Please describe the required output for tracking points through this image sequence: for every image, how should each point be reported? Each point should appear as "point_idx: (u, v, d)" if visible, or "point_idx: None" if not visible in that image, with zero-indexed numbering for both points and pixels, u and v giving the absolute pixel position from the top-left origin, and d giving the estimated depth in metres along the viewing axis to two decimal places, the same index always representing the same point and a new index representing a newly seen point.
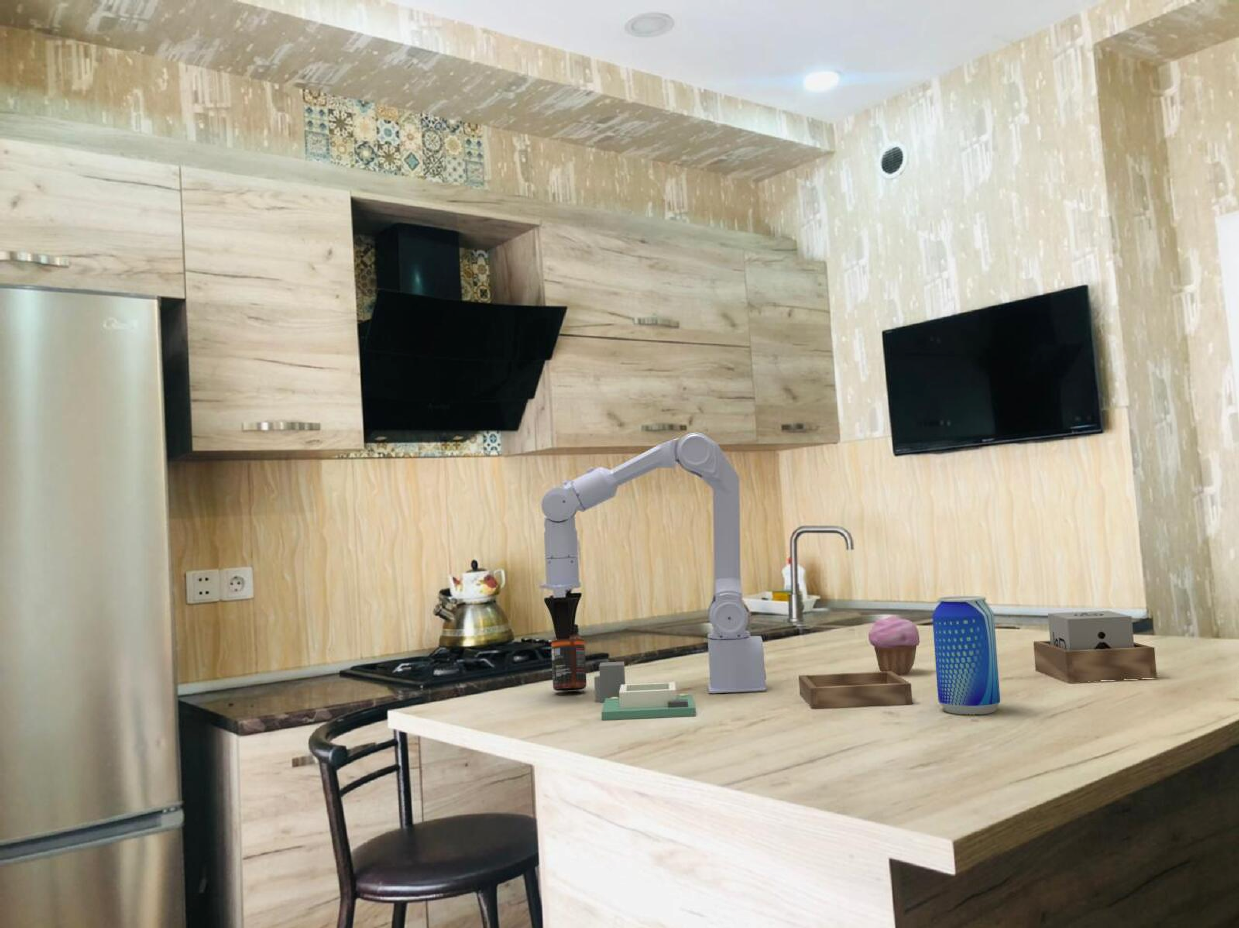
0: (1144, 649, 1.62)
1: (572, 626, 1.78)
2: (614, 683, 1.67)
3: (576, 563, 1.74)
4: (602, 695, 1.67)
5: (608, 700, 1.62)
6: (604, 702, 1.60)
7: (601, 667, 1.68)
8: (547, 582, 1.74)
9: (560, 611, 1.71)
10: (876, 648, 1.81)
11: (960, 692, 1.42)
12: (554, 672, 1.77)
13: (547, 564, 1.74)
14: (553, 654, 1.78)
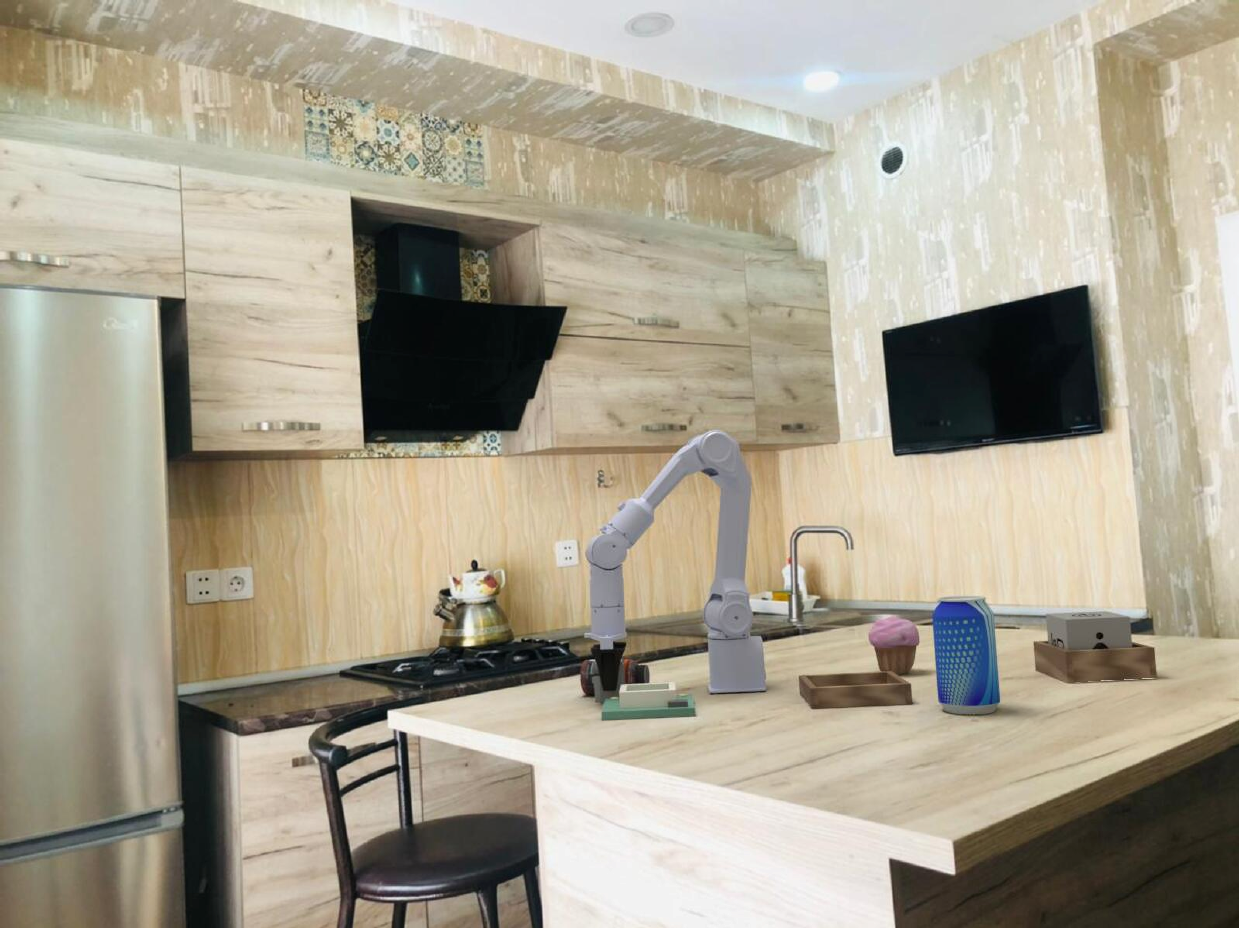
0: (1144, 649, 1.62)
1: None
2: None
3: (623, 612, 1.69)
4: (602, 695, 1.67)
5: (608, 700, 1.62)
6: (604, 702, 1.60)
7: None
8: (592, 631, 1.68)
9: (607, 662, 1.67)
10: (876, 648, 1.81)
11: (960, 692, 1.42)
12: (596, 673, 1.73)
13: (593, 613, 1.68)
14: None
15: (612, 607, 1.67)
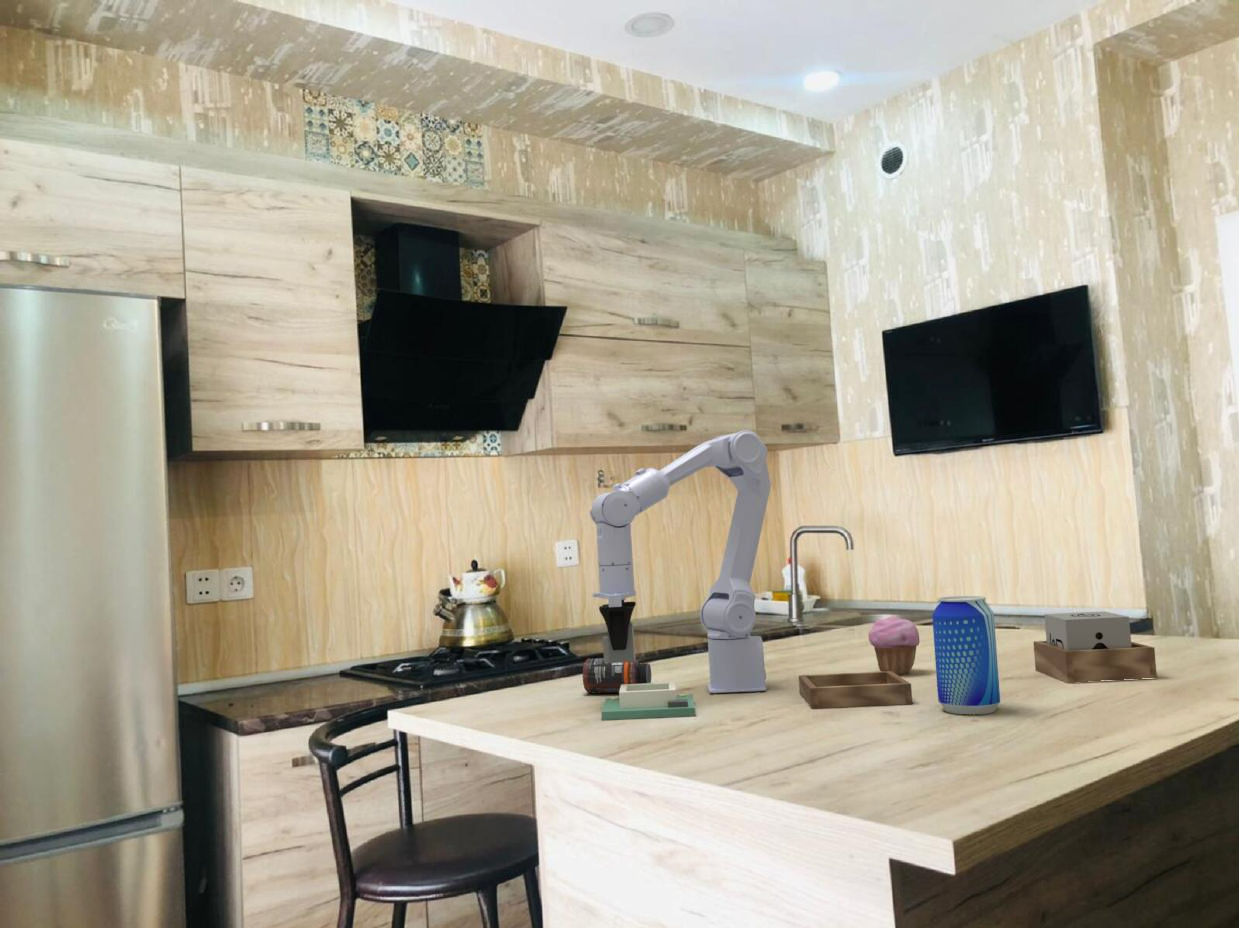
0: (1144, 649, 1.62)
1: None
2: None
3: (631, 570, 1.66)
4: (611, 655, 1.65)
5: (608, 700, 1.62)
6: (604, 702, 1.60)
7: None
8: (601, 590, 1.66)
9: (616, 620, 1.64)
10: (876, 648, 1.81)
11: (960, 692, 1.42)
12: (599, 664, 1.75)
13: (601, 572, 1.66)
14: (616, 663, 1.75)
15: (620, 565, 1.65)
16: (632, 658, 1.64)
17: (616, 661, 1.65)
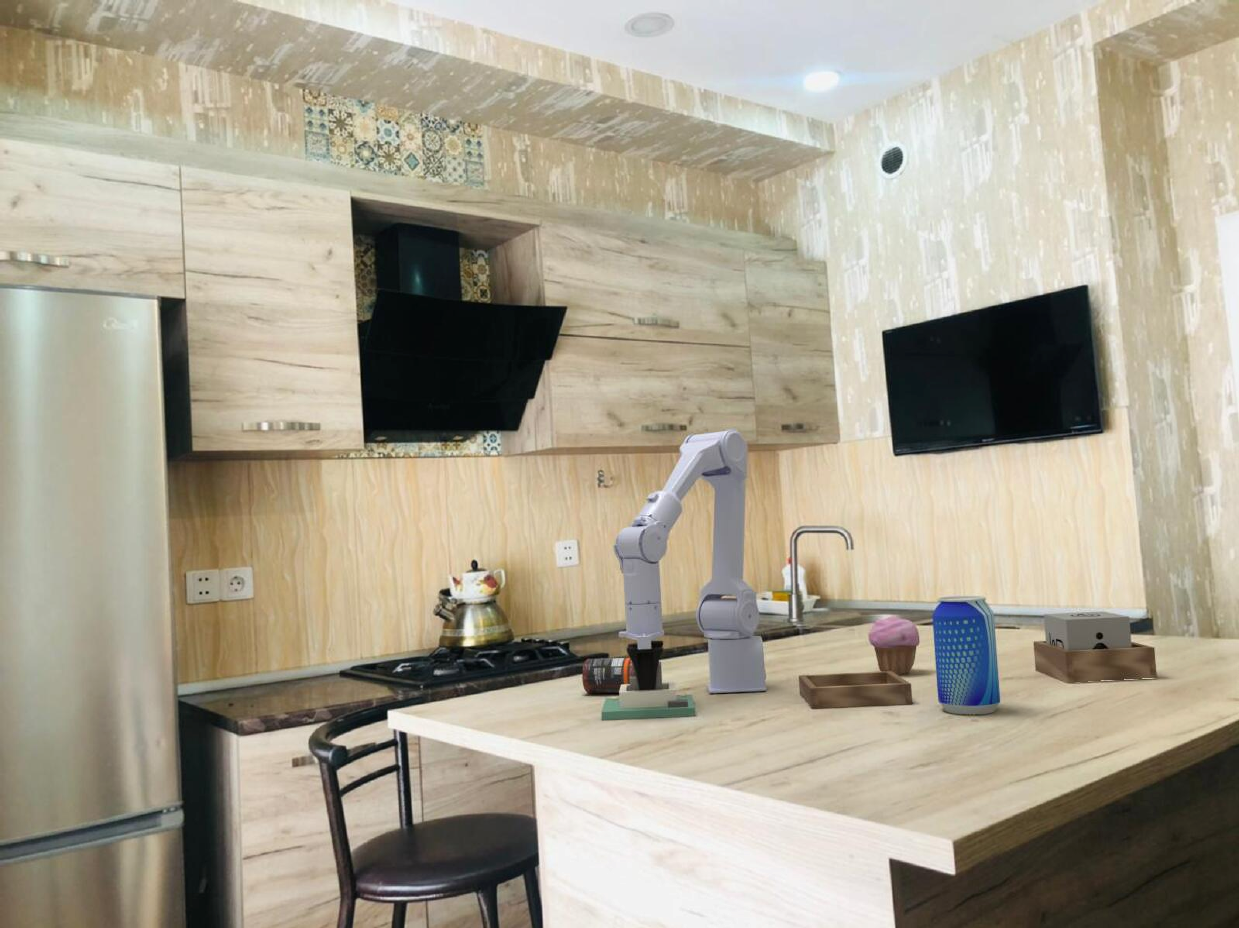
0: (1144, 649, 1.62)
1: None
2: None
3: (660, 609, 1.58)
4: None
5: (608, 700, 1.62)
6: (604, 702, 1.60)
7: None
8: (628, 630, 1.57)
9: (644, 662, 1.56)
10: (876, 648, 1.81)
11: (960, 692, 1.42)
12: (598, 665, 1.75)
13: (628, 610, 1.57)
14: (616, 664, 1.74)
15: (648, 604, 1.56)
16: None
17: None
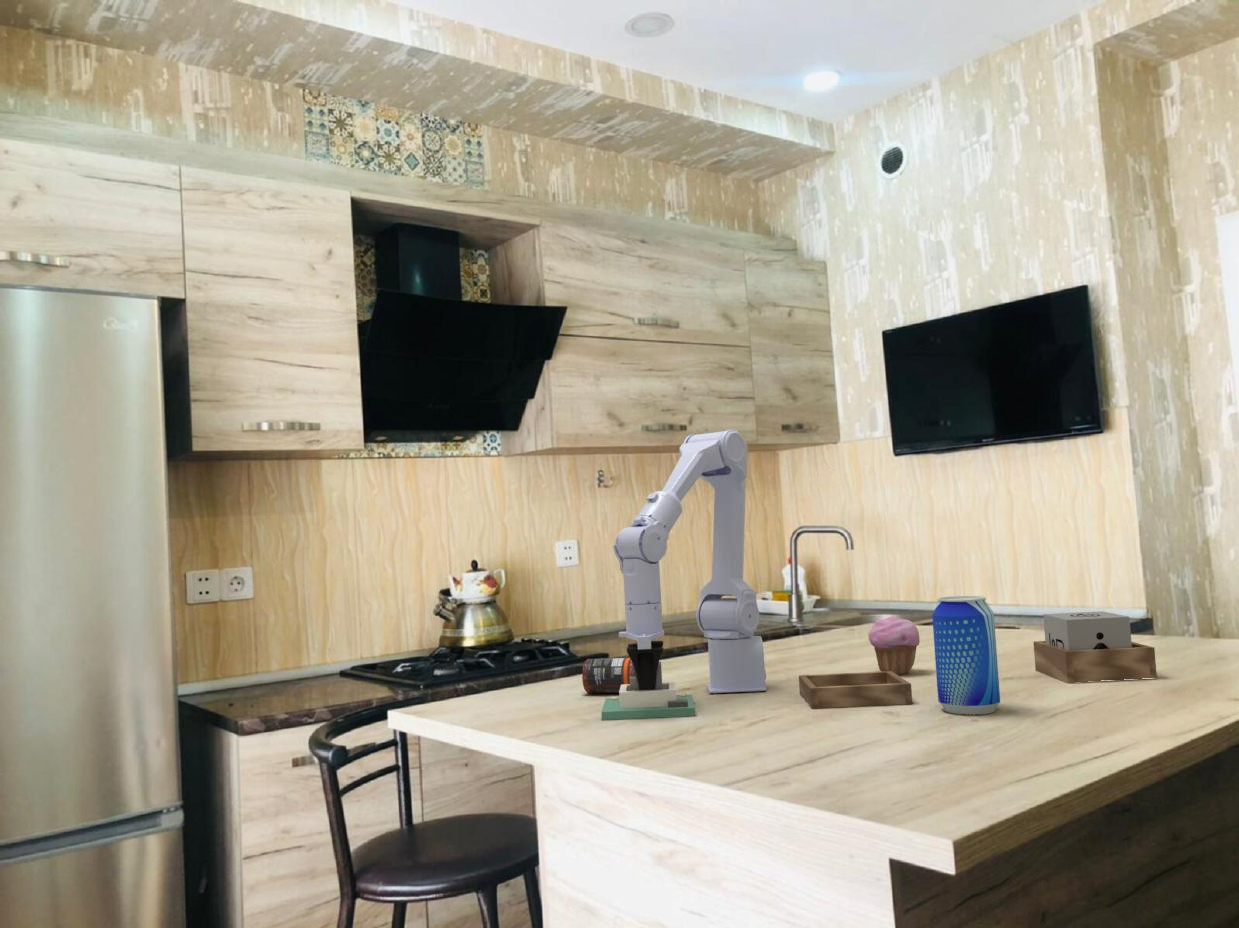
0: (1144, 649, 1.62)
1: None
2: None
3: (660, 609, 1.58)
4: None
5: (608, 700, 1.62)
6: (604, 702, 1.60)
7: None
8: (628, 630, 1.57)
9: (644, 662, 1.56)
10: (876, 648, 1.81)
11: (960, 692, 1.42)
12: (598, 665, 1.75)
13: (628, 610, 1.57)
14: (616, 664, 1.74)
15: (648, 604, 1.56)
16: None
17: None
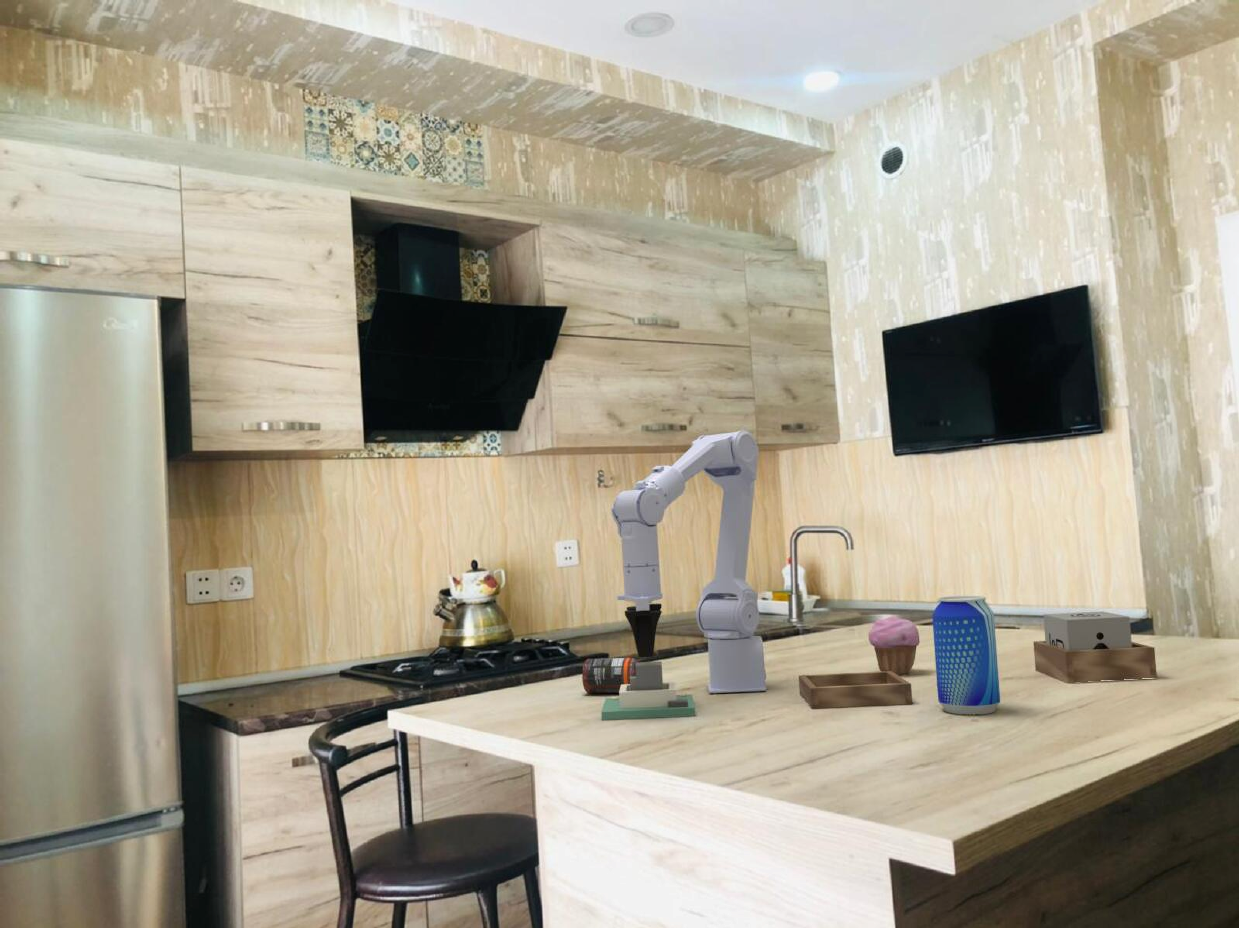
0: (1144, 649, 1.62)
1: None
2: (652, 685, 1.56)
3: (658, 572, 1.58)
4: None
5: (608, 700, 1.62)
6: (604, 702, 1.60)
7: (638, 667, 1.56)
8: (626, 593, 1.58)
9: (642, 625, 1.54)
10: (876, 648, 1.81)
11: (960, 692, 1.42)
12: (598, 665, 1.75)
13: (626, 573, 1.58)
14: (616, 664, 1.74)
15: (647, 566, 1.56)
16: None
17: None
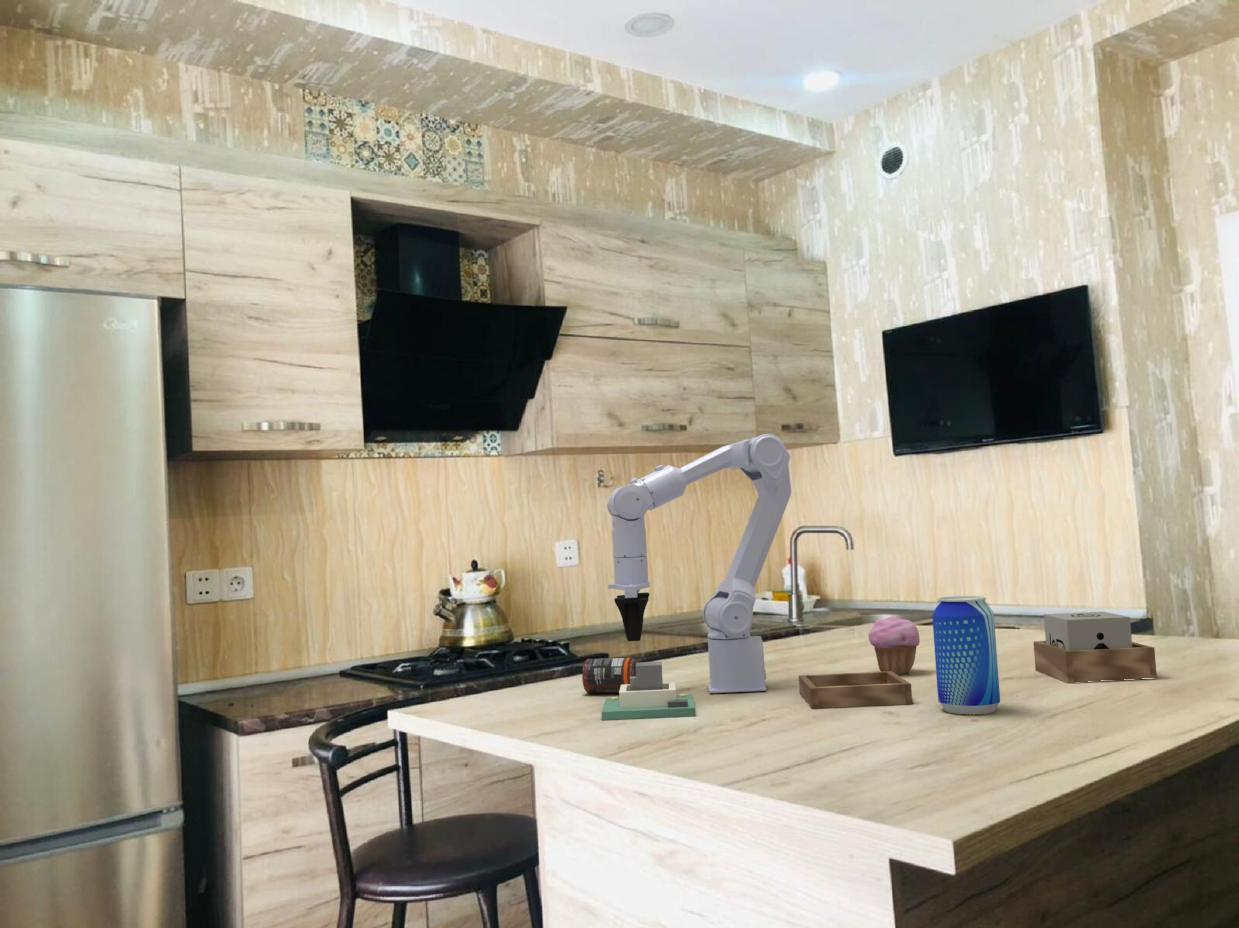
0: (1144, 649, 1.62)
1: None
2: (652, 685, 1.56)
3: (646, 562, 1.70)
4: None
5: (608, 700, 1.62)
6: (604, 702, 1.60)
7: (638, 667, 1.56)
8: (616, 582, 1.70)
9: (631, 612, 1.66)
10: (876, 648, 1.81)
11: (960, 692, 1.42)
12: (598, 665, 1.75)
13: (616, 563, 1.70)
14: (616, 664, 1.74)
15: (635, 557, 1.69)
16: None
17: None
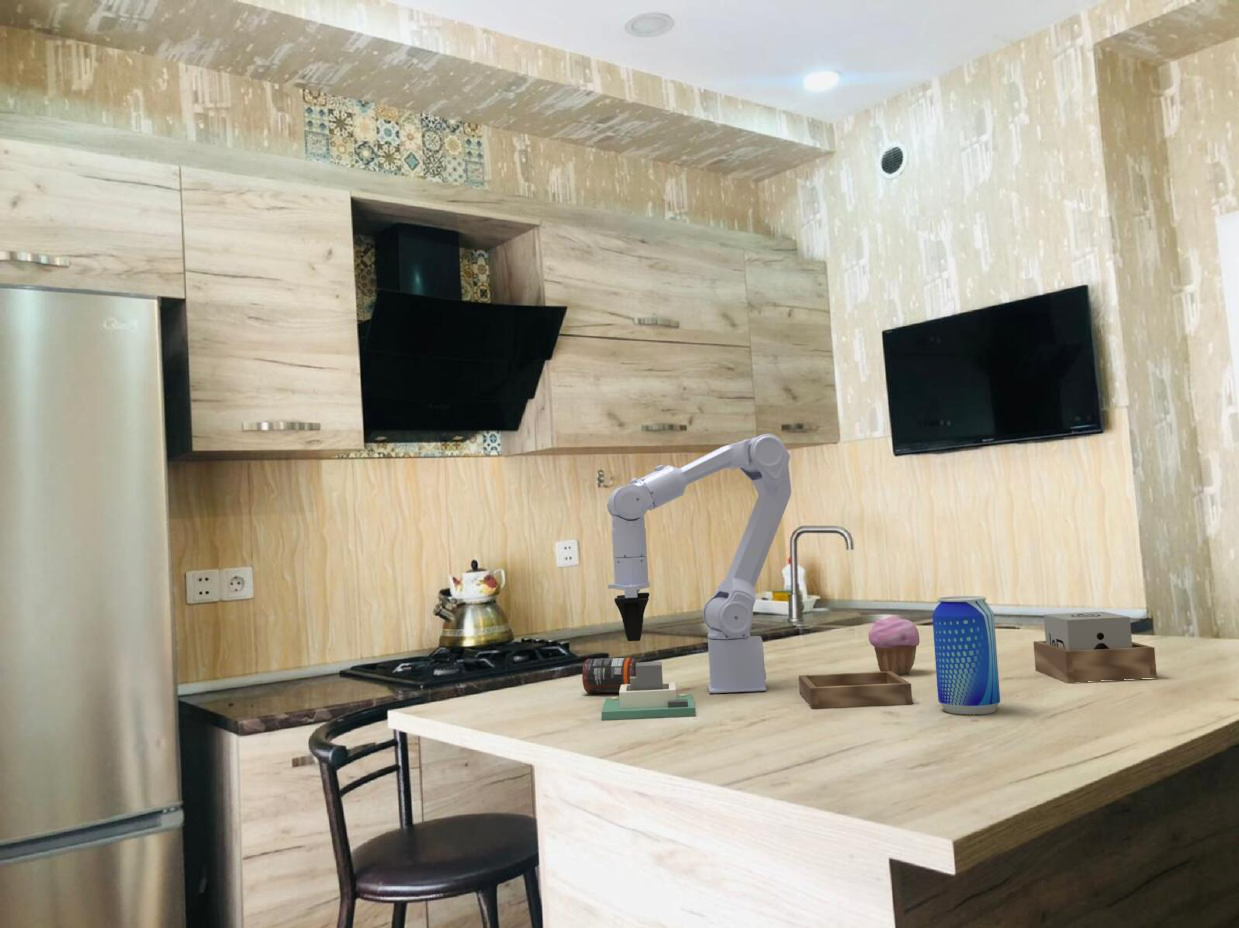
0: (1144, 649, 1.62)
1: None
2: (652, 685, 1.56)
3: (646, 562, 1.70)
4: None
5: (608, 700, 1.62)
6: (604, 702, 1.60)
7: (638, 667, 1.56)
8: (616, 582, 1.70)
9: (631, 612, 1.66)
10: (876, 648, 1.81)
11: (960, 692, 1.42)
12: (598, 665, 1.75)
13: (616, 563, 1.70)
14: (616, 664, 1.74)
15: (635, 557, 1.69)
16: None
17: None
